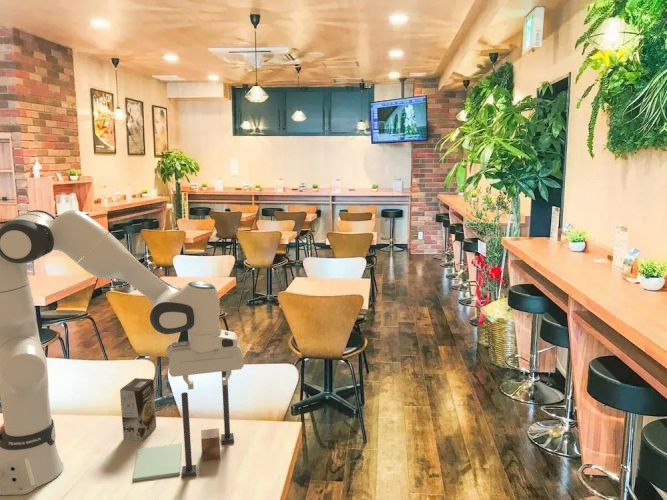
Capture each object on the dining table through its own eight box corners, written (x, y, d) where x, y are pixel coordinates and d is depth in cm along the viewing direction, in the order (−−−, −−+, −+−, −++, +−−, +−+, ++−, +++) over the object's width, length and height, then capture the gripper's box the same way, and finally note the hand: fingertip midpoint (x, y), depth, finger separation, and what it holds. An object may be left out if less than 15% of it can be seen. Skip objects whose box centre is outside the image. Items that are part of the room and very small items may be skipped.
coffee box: (142, 441, 169) (138, 391, 165) (122, 439, 170) (118, 389, 167) (157, 426, 177) (154, 378, 174) (138, 424, 179) (135, 377, 175)
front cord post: (182, 477, 150) (177, 397, 146) (182, 470, 154) (177, 391, 149) (196, 476, 151) (191, 396, 146) (196, 468, 154) (191, 390, 150)
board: (133, 481, 149) (132, 478, 149) (138, 451, 163) (138, 448, 163) (179, 474, 152) (179, 472, 151) (181, 445, 166) (181, 443, 166)
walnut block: (202, 461, 158) (201, 439, 156) (202, 452, 162) (201, 430, 161) (220, 459, 159) (219, 436, 157) (219, 450, 164) (218, 428, 162)
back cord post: (221, 444, 167) (218, 371, 162) (221, 438, 170) (217, 366, 166) (234, 442, 167) (230, 369, 163) (233, 436, 171) (230, 365, 166)
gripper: (165, 347, 148) (169, 396, 151) (242, 339, 153) (245, 387, 156) (166, 339, 154) (170, 386, 157) (241, 332, 159) (243, 377, 162)
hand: (208, 386), depth 157 cm, fingers open, 8 cm apart
